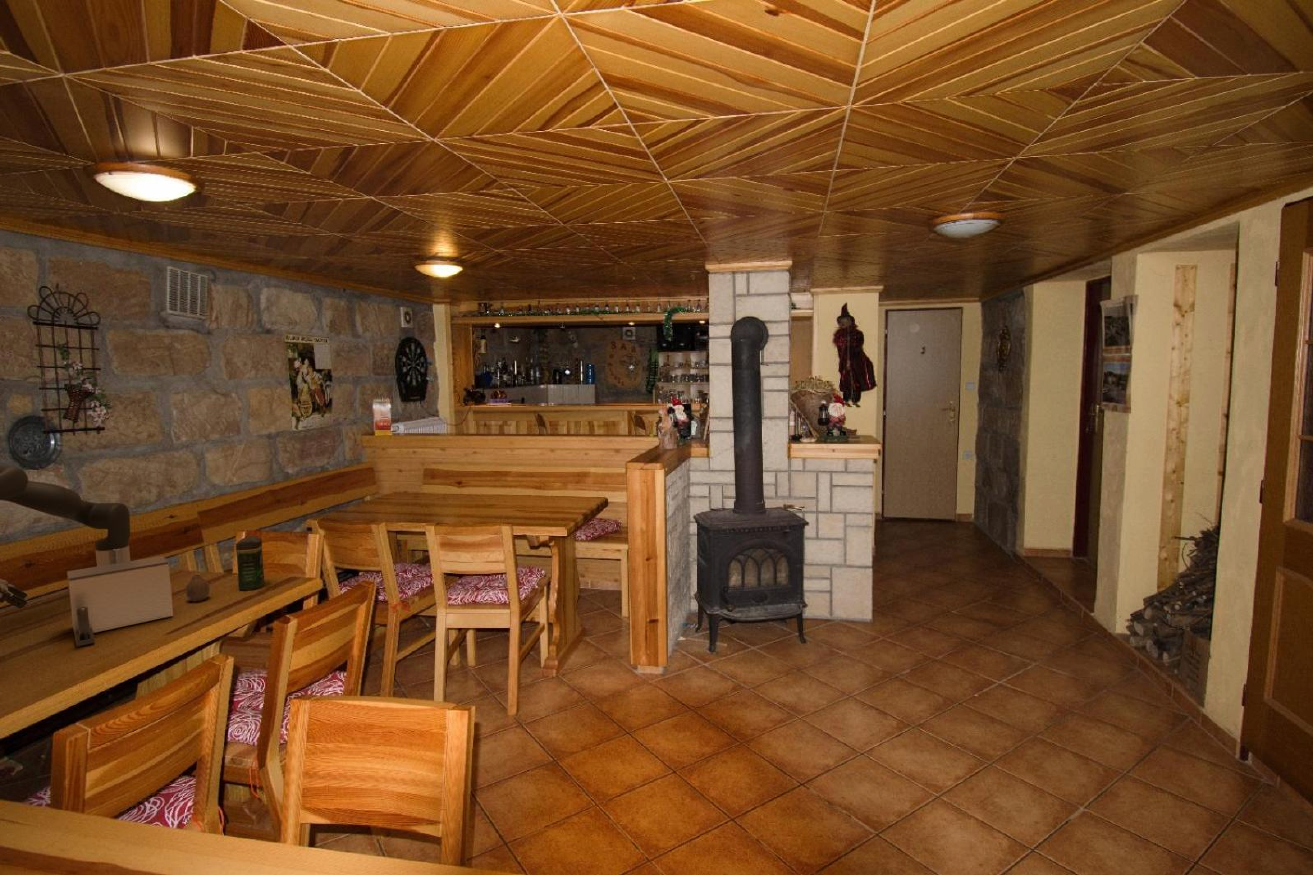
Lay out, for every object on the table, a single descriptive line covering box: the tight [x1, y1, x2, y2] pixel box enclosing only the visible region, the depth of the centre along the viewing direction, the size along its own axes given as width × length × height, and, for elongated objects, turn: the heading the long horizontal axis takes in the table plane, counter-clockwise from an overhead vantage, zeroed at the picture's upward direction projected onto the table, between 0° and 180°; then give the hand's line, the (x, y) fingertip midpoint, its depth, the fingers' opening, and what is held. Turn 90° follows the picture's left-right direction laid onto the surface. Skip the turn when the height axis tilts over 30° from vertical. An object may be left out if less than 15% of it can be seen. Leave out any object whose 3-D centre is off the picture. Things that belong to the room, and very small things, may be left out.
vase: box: [185, 574, 211, 603], centre depth 229 cm, size 7×7×9 cm
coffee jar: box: [235, 535, 265, 591], centre depth 242 cm, size 10×8×19 cm
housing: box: [66, 555, 169, 637], centre depth 209 cm, size 10×24×18 cm, turn 134°
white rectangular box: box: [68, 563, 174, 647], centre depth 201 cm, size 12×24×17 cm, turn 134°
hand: (24, 601), depth 182 cm, fingers open, 8 cm apart
